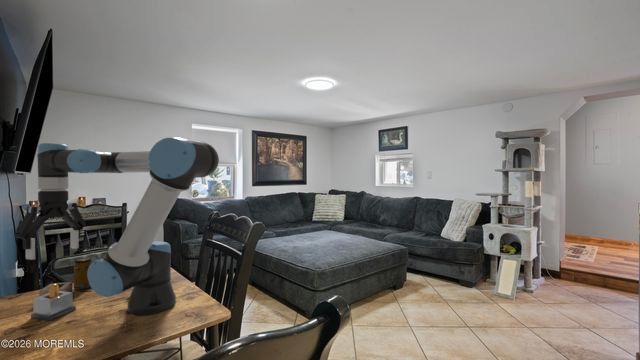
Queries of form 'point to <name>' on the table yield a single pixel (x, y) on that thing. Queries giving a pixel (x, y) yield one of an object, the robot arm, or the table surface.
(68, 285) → the link
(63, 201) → the robot arm
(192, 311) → the table surface
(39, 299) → the grey hollow block
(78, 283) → the condiment
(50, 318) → the keeper
